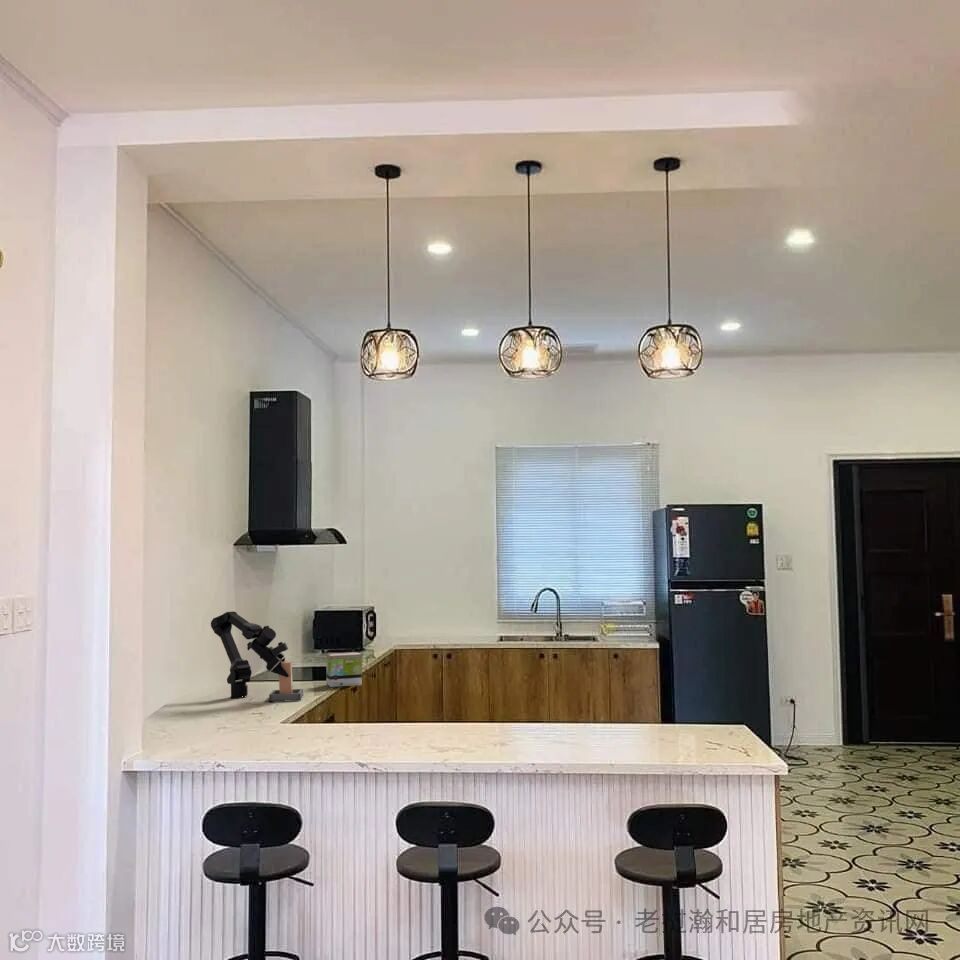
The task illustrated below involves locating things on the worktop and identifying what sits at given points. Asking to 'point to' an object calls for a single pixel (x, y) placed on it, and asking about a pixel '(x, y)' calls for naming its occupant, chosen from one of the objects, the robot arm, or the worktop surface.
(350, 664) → the tea box
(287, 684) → the peach block
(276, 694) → the tray
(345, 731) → the worktop surface
